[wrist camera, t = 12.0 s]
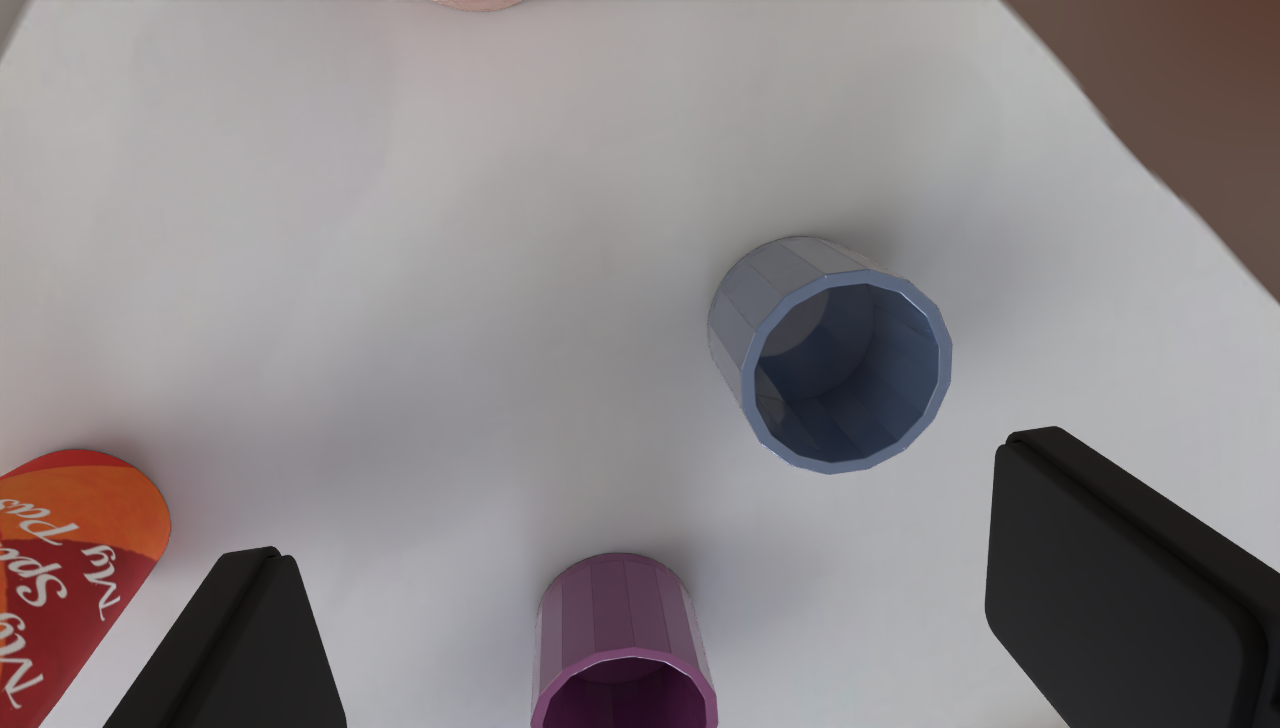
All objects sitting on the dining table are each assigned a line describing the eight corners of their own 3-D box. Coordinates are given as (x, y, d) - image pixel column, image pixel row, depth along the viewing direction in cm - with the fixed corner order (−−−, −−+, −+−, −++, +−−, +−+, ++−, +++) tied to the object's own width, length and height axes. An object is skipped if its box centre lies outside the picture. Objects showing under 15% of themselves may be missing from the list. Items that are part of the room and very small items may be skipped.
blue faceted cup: (671, 339, 29) (697, 396, 24) (789, 198, 28) (846, 224, 22) (797, 435, 31) (848, 509, 26) (913, 308, 30) (995, 357, 24)
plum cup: (505, 635, 33) (493, 745, 28) (602, 524, 32) (610, 616, 26) (626, 704, 35) (639, 820, 30) (723, 603, 34) (755, 704, 28)
